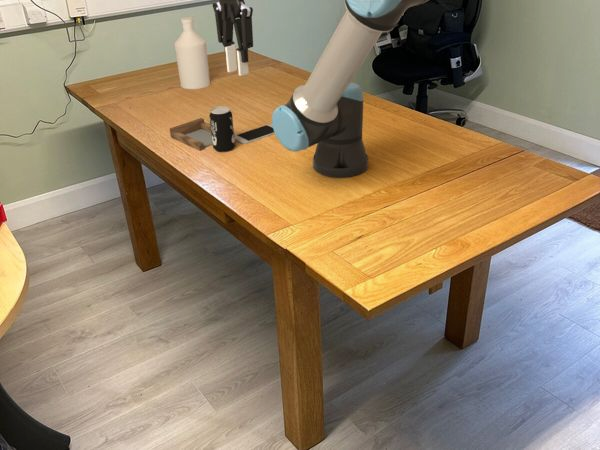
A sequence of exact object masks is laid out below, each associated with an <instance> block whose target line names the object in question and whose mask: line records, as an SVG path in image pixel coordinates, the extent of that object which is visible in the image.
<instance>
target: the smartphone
mask: <svg viewBox="0 0 600 450" xmlns="http://www.w3.org/2000/svg"><path fill="white" fill-rule="evenodd" d="M272 135H275V133H274V129H273V126H272V123H267V124H264V125H262V126H259V127H256V128H253V129H250V130H246V131H243V132H241V133H238V134H234V138H235V142H238V143H240V144H242V145H246V144H249V143H252V142H254V141H258V140H261V139H263V138H267V137H270V136H272Z"/></svg>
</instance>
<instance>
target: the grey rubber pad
mask: <svg viewBox="0 0 600 450" xmlns="http://www.w3.org/2000/svg"><path fill="white" fill-rule="evenodd" d="M186 136H189V137H191V138H193V139H195V140H198V141H200V142H202V143H203V144H204V149H205V148H207V147H209V146H213V142H212V134H211V133H210V132H208V131H206V130H203V129H200V130H198V131H195V132H192V133H189V134H186Z"/></svg>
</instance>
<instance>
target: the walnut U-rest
mask: <svg viewBox="0 0 600 450" xmlns="http://www.w3.org/2000/svg"><path fill="white" fill-rule="evenodd" d="M201 129H203V130H206V131H208V132H210V133H211V126H210V123H207V122H206V121H205V119H204V118H202V117H200V118H196V119H194V120H191V121H188V122H185V123H182V124H179V125H176V126H173V127H169V133H170V139H172V140H173V139H174V140H175V141H178V142H180V143H182V144H185V145H187V146H189V147H191V148H193V149H195V150H197V151H203V150H205V148H204V144H203V143H202V142H200V141H198V140H195V139H193V138H191V137H189V136H186V134H189V133H192V132H195V131H198V130H201Z"/></svg>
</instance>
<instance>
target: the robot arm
mask: <svg viewBox="0 0 600 450" xmlns="http://www.w3.org/2000/svg"><path fill="white" fill-rule="evenodd" d="M343 1H344V7H345V13H344V14H343V16H342V18H341V19H340V21H339V23H338V25H337V27H336V29H335V30H334V33H333V35H332V36H331V38H330V40H329V42H328V43H327V45H326V46H325V48H324V51H322V54H321V56H320V57H319V59H318V61H317V63H316V65H315V66H314V68H313V70H312V72H311V74H310V75H309V77H308V79H307V81H306V82H305V84H301V85H298V86H297V87H296V88H295V90H294V91H293V93H292V95H291V96H290V99H289V100H288V101H287V103H285V104H282V105H280V106H277V107H276V108H275V110H273V112H272V116H271V124H272V126H273V129H274V133H275V134H274V135H275V137H276V138H277V140H278V141H279V144H280V145H282V147H283V148H285V149H287V150H288V151H292V152H294V153H295V152H296V153H297V152H300V151H303V150H304V151H305V150H307V149H308V148H311V147H312V146H315V145H316V147H315V152H314V154H313V157H312V168H313V170H315V172H316V173H318V174H321V175H322V176H326V177H331V178H348V177H349V178H350V177H351V178H352V177H356V176H358V175H361V174H363V173H364V172H366V171H367V170H368V168H369V156H368V154H367V152H366V147H365V143H364V141H363V125H364V124H363V123H364V120H363V119H364V101H365V100H364V90H363V88H362V87H361V85H359V84H358V83H355V82H352V81H353V79H354V78H355V76H356V75H357V73H358V72H359V70H360V68H361V67H362V65H363V64H364V62H365V60H366V59H367V57H368V55H369V54H370V52H372V49H373V47H374V46H375V45H376V43H377V41H378V40H379V38H380V37H381V35H382V34H383V33H389V32H391V31H393V29H395V27H396V26H397V24H398V23H399V21H400V19H401V18H402V16H403V15H404V13H405V12H406V11H407V10H408V9H409V8H411V7H415V6H419V5H421V4H422V5H423V4H425V3H426V2H428V1H430V0H343ZM212 9H213V11H214V16H215V25H216V33H217V41H218V43H219V44H220V43H221V44H222V46H223V47H224V54H225V55H224V57H225V59H226V68H227V69H226V70H227V73H232V72H236V71H238V76H244V75H248V74H249V73H250V72H249V51H248V50H249V49H251V48H253V47H254V36H253V35H254V34H253V18H252V17H253V11H254V9H253V7H252V6H251V7H248V6H247V5H246V2H245V0H218V2H214V3H212ZM234 32H235V37H236V41H237V46H238V48H236V45H235V43H236V42H235V41H234Z"/></svg>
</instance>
